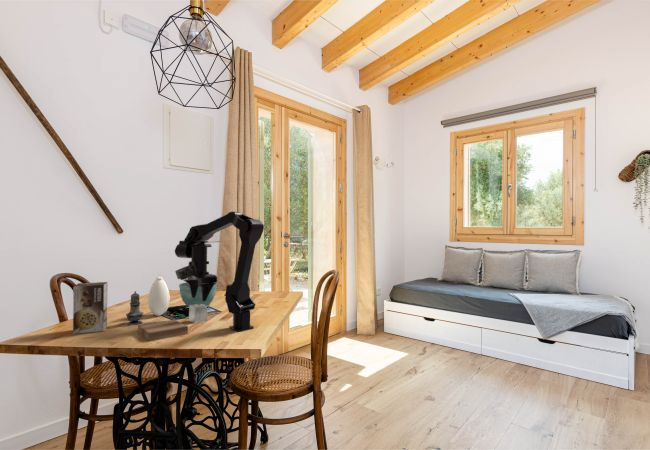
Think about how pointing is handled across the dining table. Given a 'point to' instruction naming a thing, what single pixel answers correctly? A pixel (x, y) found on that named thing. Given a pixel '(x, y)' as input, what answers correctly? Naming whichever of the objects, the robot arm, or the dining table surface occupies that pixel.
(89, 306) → the coffee box
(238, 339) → the dining table surface
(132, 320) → the salt shaker
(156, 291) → the white tall oval piece
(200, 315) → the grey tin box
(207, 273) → the robot arm
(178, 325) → the walnut block
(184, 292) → the teal bowl
